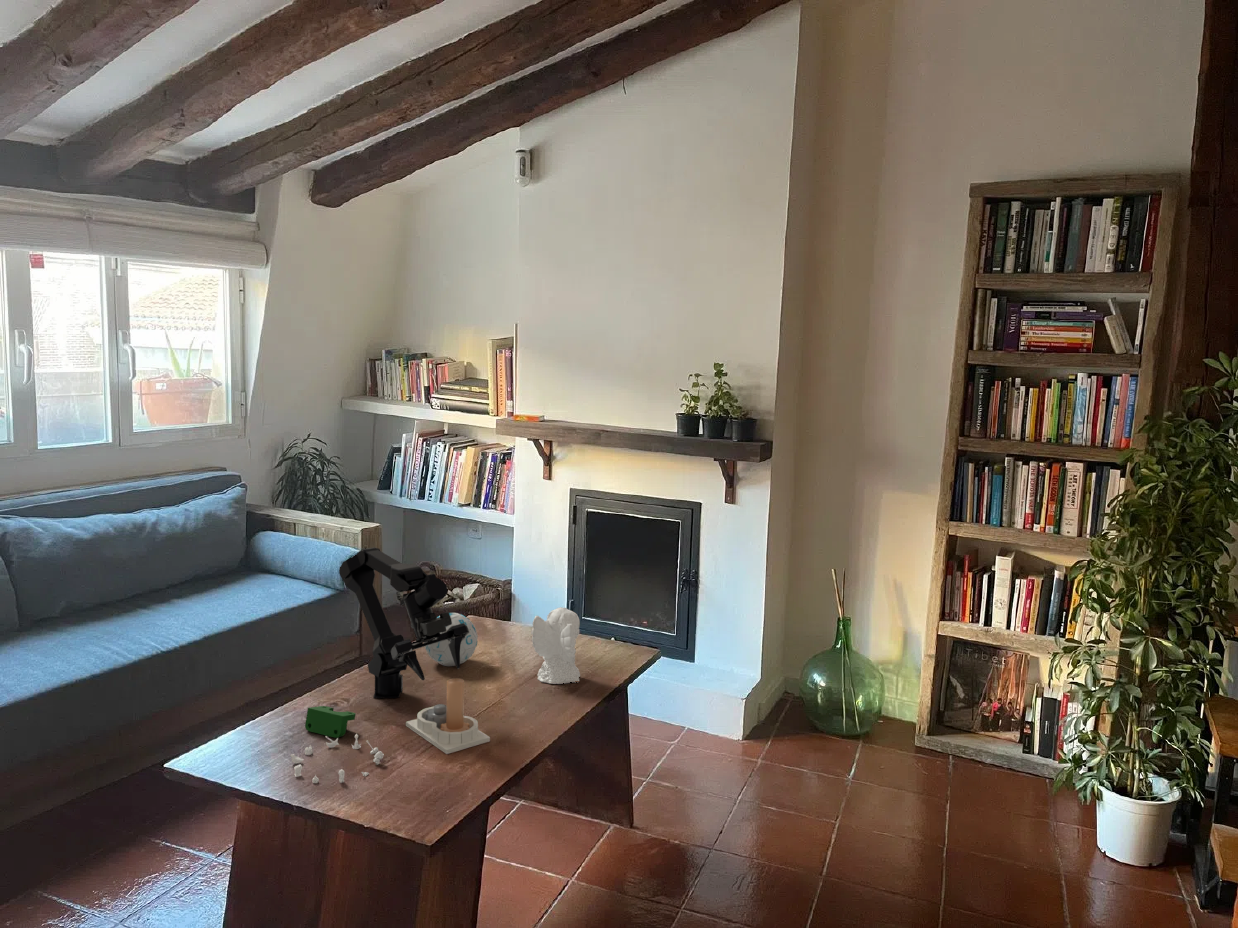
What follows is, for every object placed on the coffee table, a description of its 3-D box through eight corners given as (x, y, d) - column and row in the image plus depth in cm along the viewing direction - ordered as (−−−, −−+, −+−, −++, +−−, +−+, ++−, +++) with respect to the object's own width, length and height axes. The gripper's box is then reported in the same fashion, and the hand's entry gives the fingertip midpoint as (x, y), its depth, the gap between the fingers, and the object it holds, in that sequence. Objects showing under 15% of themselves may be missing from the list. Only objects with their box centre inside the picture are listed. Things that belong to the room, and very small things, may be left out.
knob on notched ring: (435, 738, 219) (435, 684, 217) (447, 726, 226) (448, 674, 224) (462, 742, 217) (462, 688, 216) (473, 730, 224) (474, 678, 222)
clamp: (346, 747, 224) (362, 717, 223) (330, 751, 219) (347, 720, 218) (315, 720, 228) (331, 691, 228) (299, 723, 223) (315, 693, 223)
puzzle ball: (451, 651, 281) (451, 603, 279) (488, 663, 272) (488, 613, 270) (412, 665, 268) (412, 614, 266) (449, 677, 260) (450, 625, 258)
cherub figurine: (591, 676, 264) (594, 607, 262) (572, 691, 253) (574, 619, 250) (549, 668, 269) (551, 600, 267) (529, 683, 258) (530, 612, 255)
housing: (405, 725, 228) (405, 703, 227) (447, 714, 235) (448, 693, 234) (446, 754, 213) (446, 730, 212) (489, 741, 221) (490, 718, 220)
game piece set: (397, 751, 214) (397, 735, 214) (354, 792, 195) (354, 775, 195) (320, 740, 219) (320, 725, 218) (270, 779, 199) (270, 762, 199)
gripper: (392, 614, 222) (413, 677, 217) (464, 594, 231) (486, 653, 227) (382, 628, 230) (402, 689, 226) (452, 608, 240) (472, 665, 236)
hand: (441, 674), depth 229 cm, fingers open, 9 cm apart
